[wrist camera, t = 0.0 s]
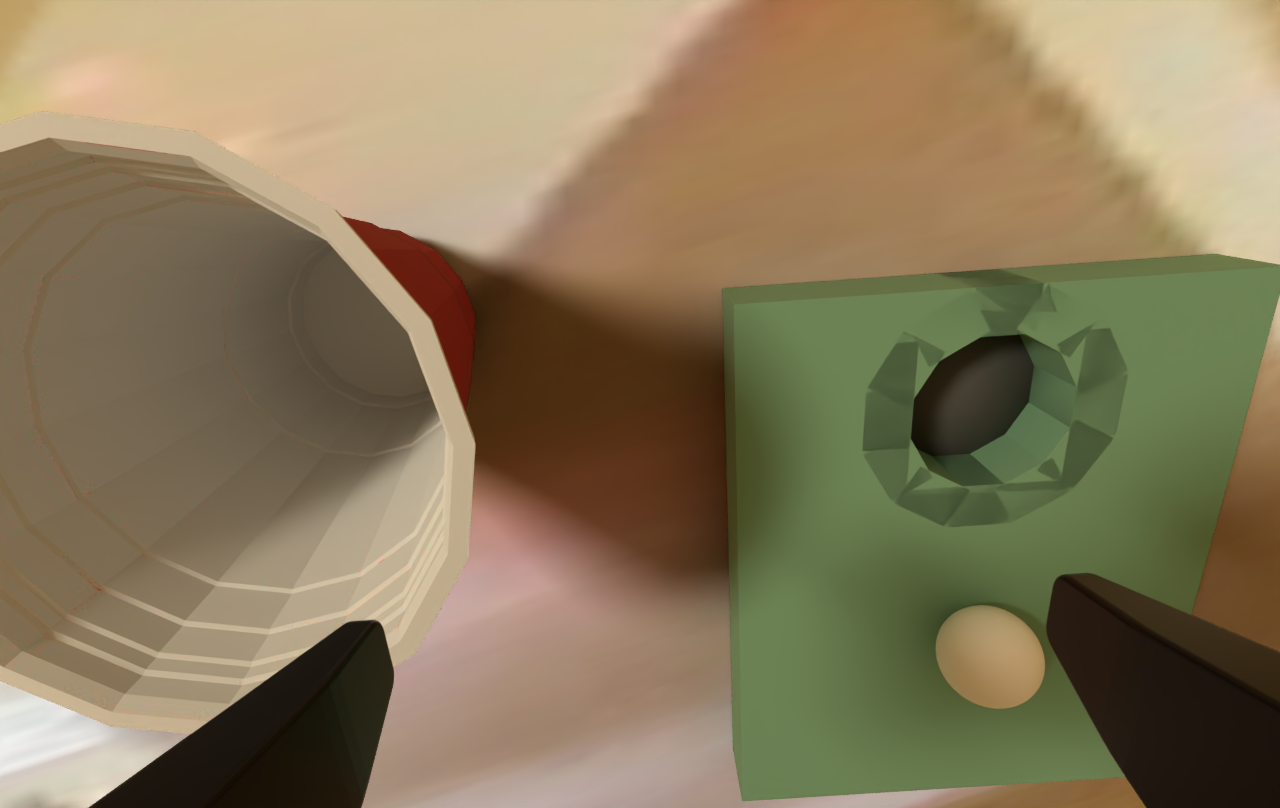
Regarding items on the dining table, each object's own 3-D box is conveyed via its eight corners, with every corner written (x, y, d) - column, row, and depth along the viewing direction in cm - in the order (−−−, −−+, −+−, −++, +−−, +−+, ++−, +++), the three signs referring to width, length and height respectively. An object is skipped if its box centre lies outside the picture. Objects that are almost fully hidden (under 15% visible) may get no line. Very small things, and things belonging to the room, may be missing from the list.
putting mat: (1104, 724, 29) (1146, 775, 26) (732, 748, 29) (742, 801, 26) (1215, 253, 21) (1287, 266, 19) (722, 288, 22) (733, 304, 19)
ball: (1005, 656, 24) (1059, 728, 21) (916, 662, 24) (957, 734, 21) (1016, 582, 23) (1075, 647, 20) (924, 588, 23) (968, 653, 20)
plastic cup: (531, 120, 20) (403, 76, 9) (569, 450, 24) (515, 718, 12) (171, 147, 20) (-424, 136, 9) (266, 471, 24) (-60, 755, 12)
